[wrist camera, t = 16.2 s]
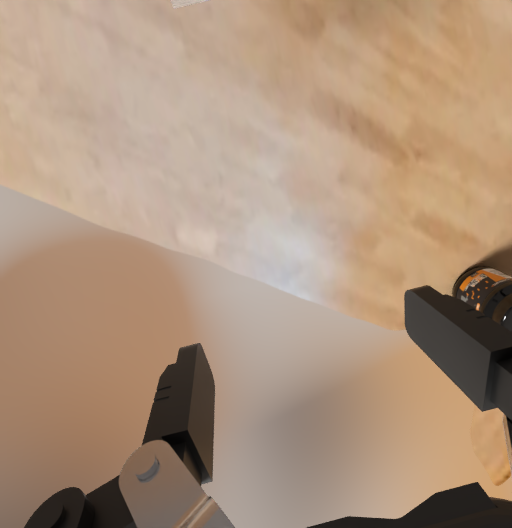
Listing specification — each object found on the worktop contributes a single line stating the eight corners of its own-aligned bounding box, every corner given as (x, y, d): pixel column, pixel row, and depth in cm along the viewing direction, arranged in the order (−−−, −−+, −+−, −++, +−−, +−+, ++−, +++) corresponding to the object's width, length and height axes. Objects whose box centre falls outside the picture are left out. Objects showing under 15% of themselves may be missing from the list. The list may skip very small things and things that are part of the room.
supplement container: (489, 254, 58) (551, 280, 47) (502, 290, 62) (562, 321, 51) (442, 283, 60) (492, 314, 49) (458, 316, 64) (507, 352, 53)
